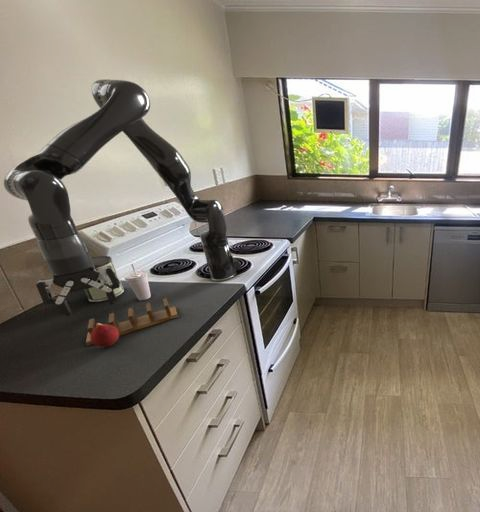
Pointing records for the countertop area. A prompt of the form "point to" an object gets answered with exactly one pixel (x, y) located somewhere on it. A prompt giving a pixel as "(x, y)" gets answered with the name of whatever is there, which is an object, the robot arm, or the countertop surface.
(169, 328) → the countertop surface
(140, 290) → the smoothie
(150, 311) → the dish rack
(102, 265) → the coffee can
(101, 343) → the red round piece
